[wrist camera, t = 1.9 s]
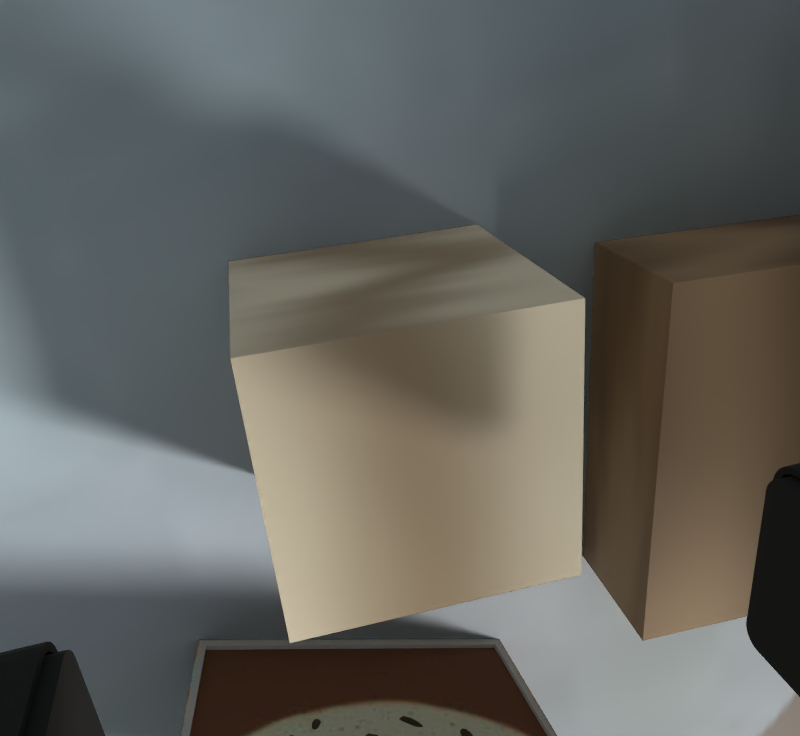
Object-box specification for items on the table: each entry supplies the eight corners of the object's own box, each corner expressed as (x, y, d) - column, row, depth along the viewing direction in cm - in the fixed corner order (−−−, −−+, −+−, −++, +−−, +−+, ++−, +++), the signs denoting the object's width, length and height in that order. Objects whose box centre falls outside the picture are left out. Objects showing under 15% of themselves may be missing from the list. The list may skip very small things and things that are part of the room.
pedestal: (918, 194, 21) (1064, 225, 17) (853, 491, 25) (959, 566, 21) (588, 239, 19) (673, 283, 15) (578, 549, 23) (642, 640, 19)
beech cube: (476, 223, 18) (585, 298, 12) (486, 436, 20) (581, 574, 15) (228, 260, 17) (230, 358, 11) (271, 478, 19) (289, 643, 14)
